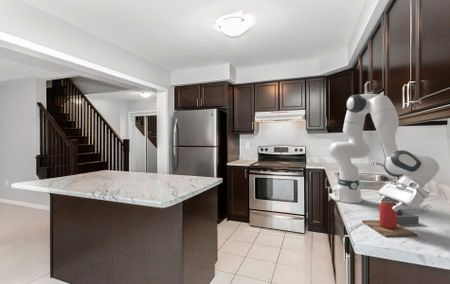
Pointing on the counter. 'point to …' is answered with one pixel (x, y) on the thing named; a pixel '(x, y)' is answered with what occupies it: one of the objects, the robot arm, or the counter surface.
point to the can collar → (406, 217)
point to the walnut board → (397, 232)
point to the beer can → (388, 214)
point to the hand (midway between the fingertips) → (386, 207)
